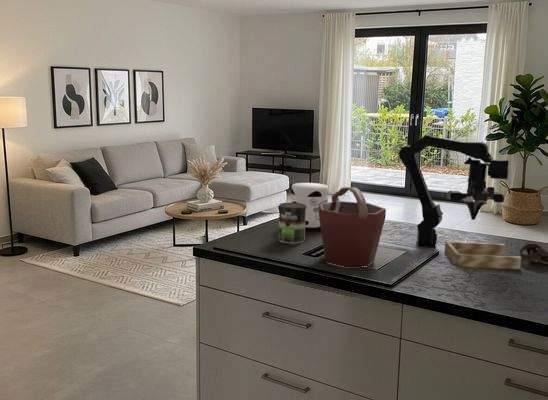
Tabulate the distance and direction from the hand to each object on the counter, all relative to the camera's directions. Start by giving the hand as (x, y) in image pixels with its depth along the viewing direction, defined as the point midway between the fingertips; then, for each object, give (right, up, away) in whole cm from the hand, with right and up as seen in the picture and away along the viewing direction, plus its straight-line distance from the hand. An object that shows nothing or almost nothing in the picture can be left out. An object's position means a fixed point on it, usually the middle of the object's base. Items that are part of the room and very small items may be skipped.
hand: (473, 219), depth 200 cm
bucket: (-47, -14, -13) cm, 50 cm away
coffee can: (-66, -9, +11) cm, 67 cm away
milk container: (-58, -5, +34) cm, 67 cm away
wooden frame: (0, -14, -9) cm, 16 cm away
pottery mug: (+17, -15, -10) cm, 25 cm away
